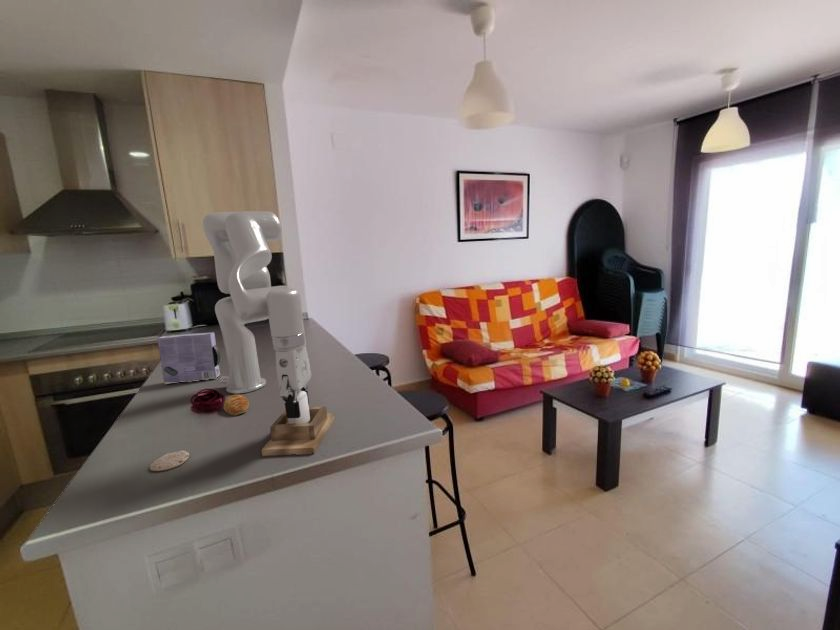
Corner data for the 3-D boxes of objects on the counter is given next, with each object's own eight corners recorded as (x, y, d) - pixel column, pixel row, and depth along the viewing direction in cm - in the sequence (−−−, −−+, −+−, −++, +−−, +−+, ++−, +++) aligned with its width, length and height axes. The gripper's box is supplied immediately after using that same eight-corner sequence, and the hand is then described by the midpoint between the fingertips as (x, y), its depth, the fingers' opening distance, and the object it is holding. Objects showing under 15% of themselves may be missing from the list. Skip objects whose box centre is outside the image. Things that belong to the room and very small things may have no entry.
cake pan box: (224, 375, 148) (216, 330, 145) (219, 379, 143) (211, 333, 140) (170, 381, 145) (161, 335, 142) (163, 385, 140) (154, 339, 137)
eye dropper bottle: (314, 423, 95) (308, 377, 93) (291, 431, 92) (285, 384, 90) (307, 417, 99) (302, 373, 97) (286, 425, 96) (279, 379, 93)
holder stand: (262, 455, 87) (259, 435, 86) (291, 419, 105) (289, 402, 104) (314, 453, 87) (311, 433, 86) (334, 417, 104) (332, 400, 103)
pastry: (253, 412, 112) (251, 400, 112) (228, 419, 108) (226, 407, 108) (246, 402, 120) (244, 391, 119) (222, 409, 116) (220, 397, 115)
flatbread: (177, 471, 84) (176, 467, 83) (142, 474, 84) (141, 470, 83) (197, 451, 92) (196, 447, 91) (165, 454, 92) (164, 450, 91)
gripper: (291, 350, 83) (301, 427, 86) (315, 331, 100) (323, 397, 103) (257, 352, 83) (268, 429, 87) (287, 333, 100) (296, 398, 104)
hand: (298, 410), depth 95 cm, fingers closed on eye dropper bottle, 5 cm apart
